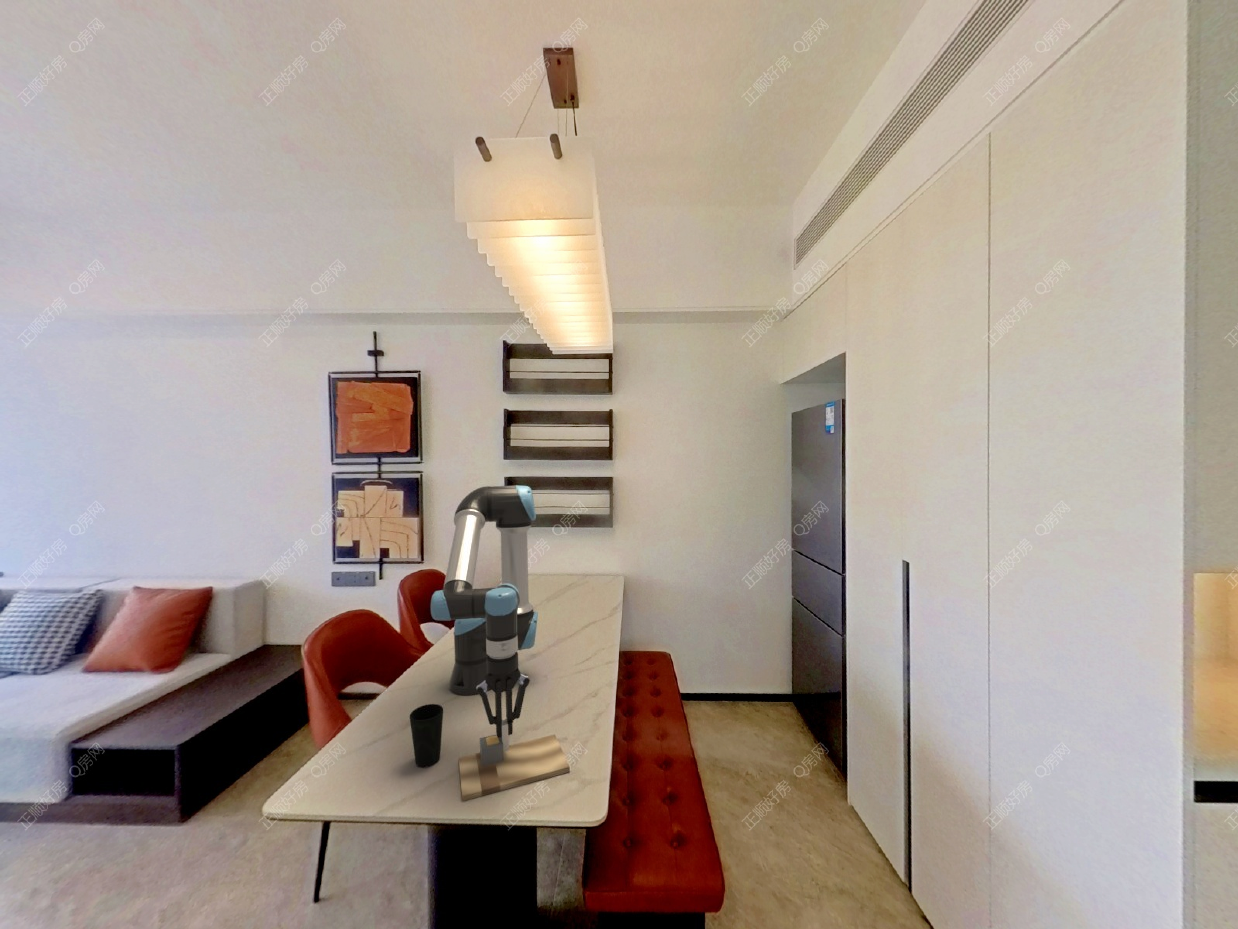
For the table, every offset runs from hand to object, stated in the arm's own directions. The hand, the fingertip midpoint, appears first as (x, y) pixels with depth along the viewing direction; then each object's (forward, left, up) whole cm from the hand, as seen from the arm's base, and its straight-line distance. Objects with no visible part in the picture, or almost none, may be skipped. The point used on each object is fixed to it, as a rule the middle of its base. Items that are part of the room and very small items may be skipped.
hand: (504, 748), depth 116 cm
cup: (-7, -18, -3) cm, 19 cm away
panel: (+4, +1, -3) cm, 5 cm away
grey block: (0, -3, -1) cm, 3 cm away
